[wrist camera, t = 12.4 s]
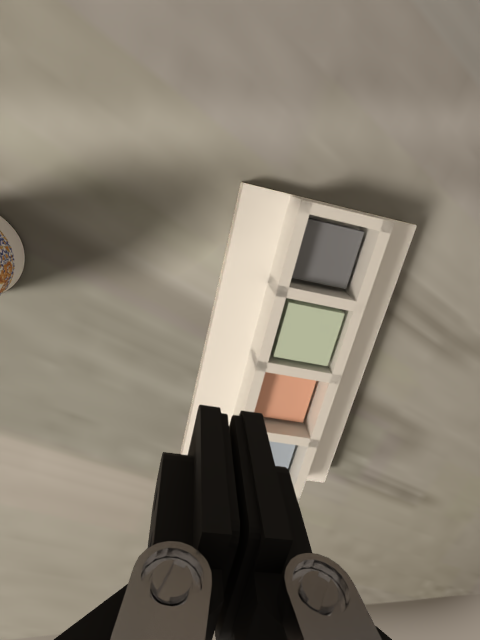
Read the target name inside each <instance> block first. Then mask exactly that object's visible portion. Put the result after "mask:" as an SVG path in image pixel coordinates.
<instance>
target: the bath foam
mask: <svg viewBox="0 0 480 640" xmlns="http://www.w3.org/2000/svg"><path fill="white" fill-rule="evenodd" d="M24 263H25V254H24V248H23V245H22V242H21V240H20V237H19V236H18V234H17V233H16V231H15V230H14V229H13V228H12V226H11V225H10V224H9V223H8V222H7V221H6V220H5V219H3V218H2V217H1V216H0V295H1V294H2V293H4V292H5V291H7V290H8V289H10V288H11V287H12V286H13V285H14V284H15V283H16V282H17V281H18V279H19V278H20V276H21V274H22V271H23V268H24Z"/></svg>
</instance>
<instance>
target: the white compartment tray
mask: <svg viewBox="0 0 480 640" xmlns="http://www.w3.org/2000/svg"><path fill="white" fill-rule="evenodd" d="M308 218H313V219H317V220H321V221H326V222H330V223H334V224H338V225H342V226H347V227H351V228H355V229H358V230H360V231H363V232H364V235H363V238H362V241H361V244H360V247H359V250H358V253H357V256H356V259H355V262H354V266H353V269H352V272H351V275H350V278H349V281H348V284H347V287H346V289H343V288H339V287H334V286H329V285H324V284H320V283H315V282H310V281H306V280H301V279H296V278H292V275H293V271H294V268H295V264H296V261H297V257H298V253H299V250H300V246H301V243H302V239H303V236H304V232H305V228H306V225H307V221H308ZM416 227H417V225H414V224H410V223H406V222H402V221H398V220H394V219H390V218H386V217H382V216H378V215H374V214H370V213H366V212H362V211H358V210H353V209H349V208H345V207H341V206H337V205H333V204H329V203H325V202H321V201H317V200H313V199H309V198H305V197H300V196H296V195H292V194H288V193H284V192H280V191H276V190H272V189H268V188H264V187H260V186H256V185H252V184H247V183H243V182H241V185H240V189H239V194H238V198H237V202H236V207H235V211H234V216H233V220H232V225H231V229H230V234H229V238H228V243H227V247H226V252H225V256H224V260H223V265H222V269H221V274H220V278H219V283H218V287H217V292H216V296H215V301H214V305H213V309H212V314H211V318H210V323H209V327H208V332H207V336H206V341H205V345H204V350H203V354H202V359H201V363H200V367H199V372H198V376H197V381H196V385H195V390H194V394H193V399H192V403H191V408H190V412H189V417H188V421H187V425H186V430H185V434H184V439H183V443H182V448H181V454H182V455H188V451H189V446H190V442H191V437H192V433H193V429H194V424H195V420H196V415H197V411H198V407H199V405H207V406H214V407H220V409H221V413H224V414H227V415H228V422H229V425H230V421H231V418H232V416H233V415H238V416H239V414H240V412H241V411H249V412H254V411H255V408H256V404H257V400H258V397H259V393H260V390H261V386H262V382H263V379H264V375H265V372H268V373H274V374H280V375H286V376H292V377H297V378H303V379H309V380H315V381H316V383H315V387H314V390H313V393H312V396H311V399H310V402H309V405H308V408H307V411H306V414H305V417H304V421H303V423H301V422H295V421H288V420H282V419H275V418H269V417H263V418H264V422H265V426H266V430H267V434H268V438H269V441H271V442H278V443H285V444H292V445H295V449H294V452H293V455H292V458H291V461H290V464H289V467H288V470H289V473H290V476H291V480H292V483H293V487H294V490H295V494H296V497H297V501H298V502H299V499H300V497H301V494H302V491H303V488H304V485H305V482H306V480H308V481H316V482H325V479H326V477H327V474H328V471H329V468H330V465H331V463H332V460H333V457H334V454H335V452H336V449H337V446H338V443H339V440H340V438H341V435H342V432H343V429H344V427H345V424H346V421H347V418H348V415H349V413H350V410H351V407H352V404H353V402H354V399H355V396H356V393H357V390H358V388H359V385H360V382H361V379H362V377H363V374H364V371H365V368H366V365H367V363H368V360H369V357H370V354H371V352H372V349H373V346H374V343H375V340H376V338H377V335H378V332H379V329H380V327H381V324H382V321H383V318H384V315H385V313H386V310H387V307H388V304H389V302H390V299H391V296H392V293H393V290H394V288H395V285H396V282H397V279H398V277H399V274H400V271H401V268H402V265H403V263H404V260H405V257H406V254H407V252H408V249H409V246H410V243H411V240H412V238H413V235H414V232H415V229H416ZM286 298H289V299H294V300H299V301H304V302H309V303H314V304H319V305H323V306H328V307H333V308H338V309H341V310H342V312H343V313H344V314H345V315H344V318H343V321H342V324H341V327H340V330H339V333H338V336H337V339H336V342H335V345H334V348H333V351H332V354H331V357H330V360H329V363H328V366H324V365H318V364H313V363H307V362H301V361H296V360H290V359H284V358H279V357H274V356H273V354H272V351H271V350H272V347H273V343H274V339H275V336H276V332H277V329H278V325H279V322H280V318H281V314H282V311H283V307H284V304H285V300H286Z"/></svg>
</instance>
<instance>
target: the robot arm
mask: <svg viewBox="0 0 480 640" xmlns="http://www.w3.org/2000/svg"><path fill="white" fill-rule="evenodd" d="M214 631H215V637H216V640H392V639H391V638H389V637H388V636H387V635H386V634H385V633H383V632H382V631H381V630H380V629H379V628H377V627H376V626H375V625H374V623H373V621H372V619H371V617H370V615H369V613H368V611H367V609H366V607H365V605H364V603H363V601H362V599H361V597H360V595H359V593H358V591H357V589H356V587H355V585H354V583H353V581H352V580H351V578H350V577H349V575H348V574H347V573H346V572H345V571H344V570H343V569H342V568H341V567H340V566H339V565H338V564H337V563H335V562H334V561H332V560H331V559H329V558H327V557H325V556H322V555H319V554H314V553H312V550H311V547H310V543H309V540H308V536H307V533H306V529H305V526H304V522H303V518H302V515H301V511H300V508H299V504H298V501H297V497H296V494H295V490H294V487H293V483H292V480H291V476H290V473H289V470H288V469H287V468H286V467H282V466H275V463H274V459H273V455H272V450H271V446H270V442H269V438H268V434H267V430H266V426H265V422H264V418H263V415H262V413H256V412H249V411H241V412H240V414H239V416H238V415H233V416H232V418H231V421H230V425H229V422H228V415H227V414H224V413H221V409H220V407H214V406H207V405H199V407H198V411H197V415H196V420H195V424H194V429H193V433H192V437H191V442H190V446H189V451H188V455H182V454H174V453H166V452H163V454H162V458H161V463H160V468H159V473H158V478H157V483H156V489H155V495H154V502H153V509H152V517H151V525H150V533H149V541H148V548H147V549H146V550H145V551H144V552H143V553H142V554H141V555H140V556H139V557H138V559H137V561H136V563H135V565H134V567H133V570H132V573H131V577H130V580H129V583H128V584H127V585H126V586H124V587H123V588H122V589H120V590H119V591H118V592H116V593H115V594H114V595H112V596H111V597H110V598H108V599H107V600H106V601H104V602H103V603H102V604H100V605H99V606H98V607H96V608H95V609H94V610H92V611H91V612H90V613H88V614H87V615H86V616H84V617H83V618H82V619H80V620H79V621H78V622H76V623H75V624H74V625H72V626H71V627H70V628H68V629H67V630H66V631H64V632H63V633H62V634H61V635H59V636H58V637H57V638H55V639H54V640H212V638H213V634H214Z"/></svg>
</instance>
